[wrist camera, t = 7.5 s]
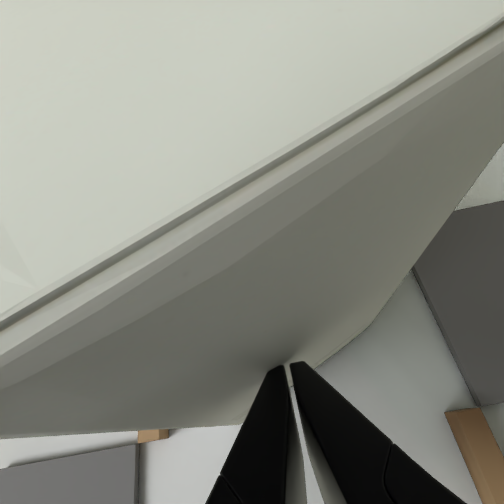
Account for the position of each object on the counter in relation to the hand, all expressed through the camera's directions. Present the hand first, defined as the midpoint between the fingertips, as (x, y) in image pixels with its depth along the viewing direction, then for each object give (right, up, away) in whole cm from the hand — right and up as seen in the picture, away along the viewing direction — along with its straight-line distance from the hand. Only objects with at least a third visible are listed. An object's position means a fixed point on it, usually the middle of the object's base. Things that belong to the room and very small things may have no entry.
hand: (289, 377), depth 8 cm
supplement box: (0, 0, +9) cm, 9 cm away
